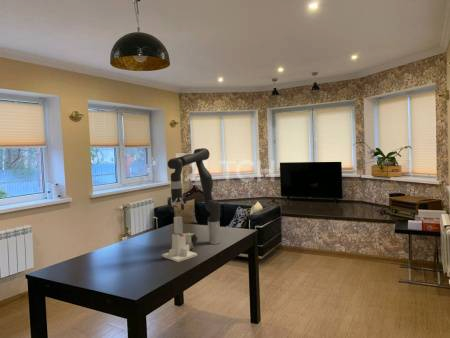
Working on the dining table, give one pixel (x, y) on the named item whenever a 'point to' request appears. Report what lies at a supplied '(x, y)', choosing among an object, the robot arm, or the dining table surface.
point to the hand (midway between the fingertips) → (177, 211)
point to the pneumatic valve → (190, 239)
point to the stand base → (179, 249)
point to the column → (178, 225)
